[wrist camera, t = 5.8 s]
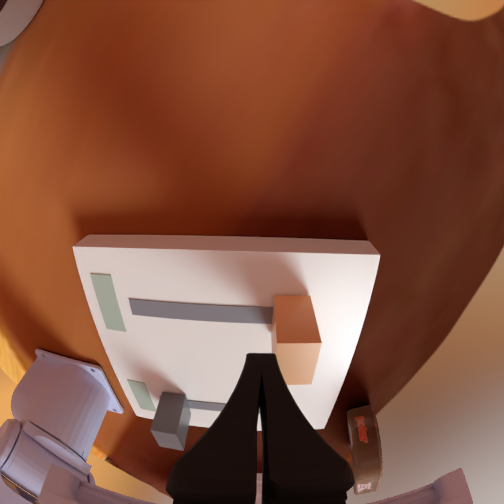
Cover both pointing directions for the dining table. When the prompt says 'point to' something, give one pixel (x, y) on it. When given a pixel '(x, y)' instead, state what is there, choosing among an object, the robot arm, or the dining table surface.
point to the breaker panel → (220, 312)
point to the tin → (365, 449)
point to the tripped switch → (295, 338)
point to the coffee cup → (16, 17)
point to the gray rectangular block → (171, 421)
